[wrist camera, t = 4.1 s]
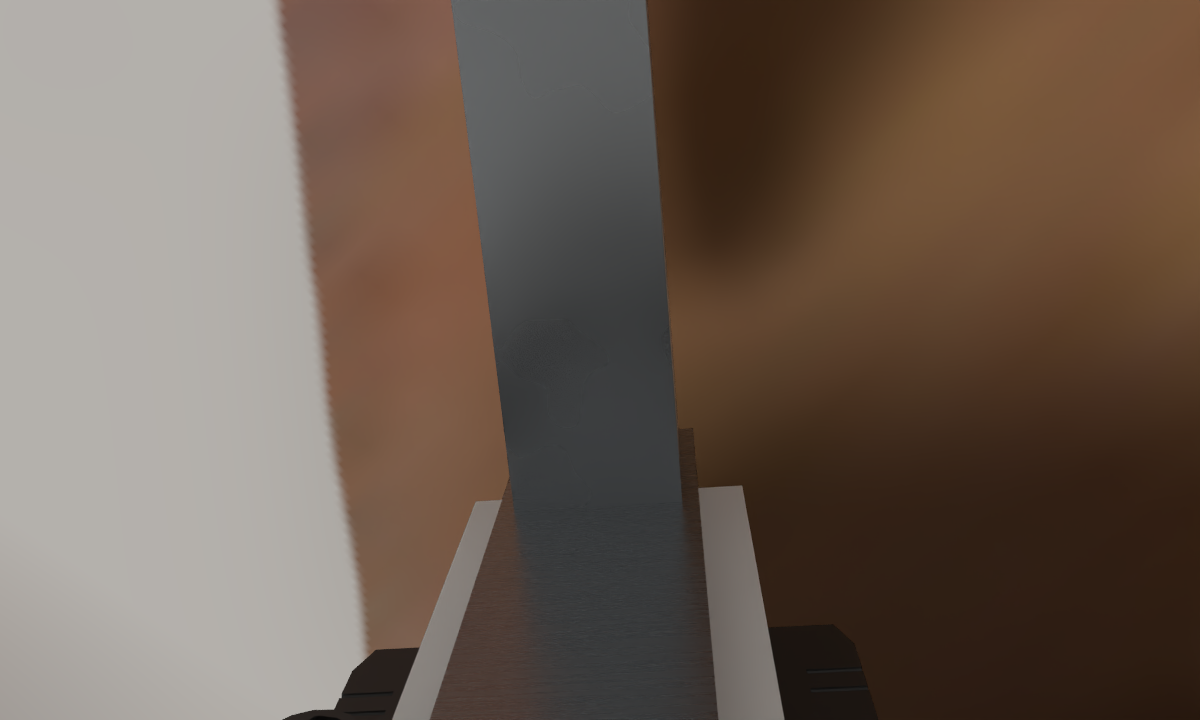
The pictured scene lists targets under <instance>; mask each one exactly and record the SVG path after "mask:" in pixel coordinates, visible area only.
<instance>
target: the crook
mask: <svg viewBox="0 0 1200 720" xmlns="http://www.w3.org/2000/svg"><path fill="white" fill-rule="evenodd" d="M451 3H452V11H453V19H454V27H455V35H456V43H457V52H458V60H459V68H460V76H461V84H462V92H463V100H464V108H465V117H466V125H467V133H468V141H469V149H470V157H471V165H472V173H473V182H474V190H475V198H476V206H477V214H478V222H479V230H480V238H481V246H482V255H483V263H484V271H485V279H486V287H487V295H488V303H489V311H490V320H491V328H492V336H493V344H494V352H495V360H496V368H497V376H498V385H499V393H500V401H501V409H502V417H503V425H504V433H505V441H506V450H507V458H508V466H509V474H510V477H509V480H508V483H507V486H506V489H505V492H504V495H503V498H502V501H501V504H500V508H499V511H498V514H497V517H496V520H495V523H494V526H493V529H492V532H491V535H490V538H489V541H488V544H487V547H486V550H485V553H484V556H483V559H482V562H481V565H480V568H479V571H478V574H477V577H476V580H475V583H474V586H473V590H472V593H471V596H470V599H469V602H468V605H467V608H466V611H465V614H464V617H463V620H462V623H461V626H460V629H459V632H458V635H457V638H456V641H455V644H454V647H453V650H452V653H451V656H450V659H449V662H448V665H447V668H446V672H445V675H444V678H443V681H442V684H441V687H440V690H439V693H438V696H437V699H436V702H435V705H434V708H433V711H432V714H431V717H430V720H718V710H717V698H716V687H715V676H714V664H713V653H712V641H711V630H710V618H709V607H708V596H707V584H706V573H705V561H704V550H703V538H702V527H701V516H700V504H699V493H698V481H697V470H696V458H695V447H694V436H693V428H689V429H678V416H677V402H676V388H675V374H674V361H673V347H672V333H671V319H670V305H669V291H668V278H667V264H666V250H665V236H664V222H663V209H662V195H661V181H660V167H659V153H658V139H657V126H656V112H655V98H654V84H653V70H652V57H651V43H650V29H649V15H648V1H647V0H451Z"/></svg>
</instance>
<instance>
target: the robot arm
mask: <svg viewBox="0 0 1200 720" xmlns="http://www.w3.org/2000/svg"><path fill="white" fill-rule="evenodd" d="M698 493H699V504H700V516H701V527H702V538H703V550H704V561H705V573H706V584H707V596H708V607H709V618H710V630H711V641H712V653H713V664H714V676H715V687H716V698H717V710H718V720H878V717H877V714H876V711H875V708H874V705H873V702H872V698H871V695H870V692H869V690H868V687H867V683H866V679H865V676H864V673H863V671H862V667H861V664H860V660H859V657H858V654H857V651H856V648H855V645H854V643H853V642H852V641H851V640H850V639H848V638H847V637H846V636H845V635H844V634H843V633H842V632H841V631H840V630H839V629H838V628H836V627H835V626H834V625H833V624H831V625H811V626H791V627H771V628H768V626H767V620H766V615H765V609H764V604H763V598H762V593H761V587H760V582H759V576H758V571H757V565H756V560H755V554H754V548H753V543H752V537H751V532H750V526H749V521H748V515H747V510H746V504H745V499H744V493H743V488H742V485H741V486H725V487H708V488H698ZM501 501H502V500H492V501H476V502H475V505H474V507H473V510H472V513H471V515H470V518H469V520H468V523H467V526H466V528H465V531H464V533H463V536H462V539H461V541H460V544H459V546H458V549H457V552H456V554H455V557H454V559H453V562H452V565H451V567H450V570H449V573H448V575H447V578H446V580H445V583H444V586H443V588H442V591H441V593H440V596H439V599H438V601H437V604H436V606H435V609H434V612H433V614H432V617H431V619H430V622H429V625H428V627H427V630H426V632H425V635H424V638H423V640H422V643H421V646H420V648H403V649H383V650H375V651H374V652H373V653H372V654H371V655H370V656H369V657H367V658H366V659H365V660H364V661H363V662H362V663H361V664H360V665H359V666H357V667H356V668H355V669H354V670H353V671H352V673H351V675H350V677H349V679H348V682H347V684H346V686H345V688H344V690H343V692H342V698H339V701H338V703H337V705H336V707H335V709H334V710H312V711H308V712H304V713H300V714H296V715H291V716H289V717H287V718H285V719H283V720H430V717H431V714H432V711H433V708H434V705H435V702H436V699H437V696H438V693H439V690H440V687H441V684H442V681H443V678H444V675H445V672H446V668H447V665H448V662H449V659H450V656H451V653H452V650H453V647H454V644H455V641H456V638H457V635H458V632H459V629H460V626H461V623H462V620H463V617H464V614H465V611H466V608H467V605H468V602H469V599H470V596H471V593H472V590H473V586H474V583H475V580H476V577H477V574H478V571H479V568H480V565H481V562H482V559H483V556H484V553H485V550H486V547H487V544H488V541H489V538H490V535H491V532H492V529H493V526H494V523H495V520H496V517H497V514H498V511H499V508H500V504H501Z"/></svg>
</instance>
